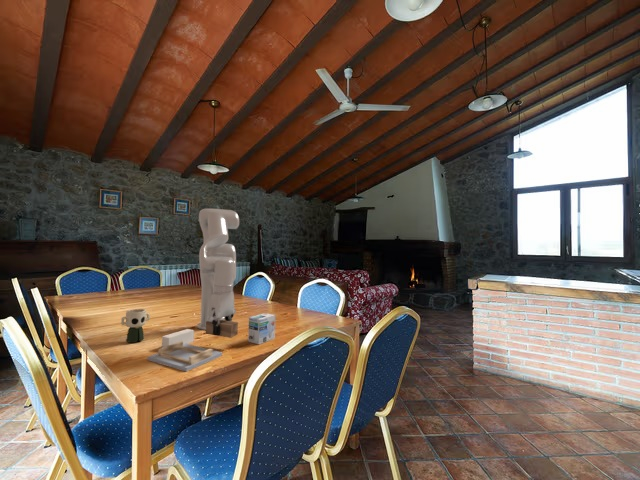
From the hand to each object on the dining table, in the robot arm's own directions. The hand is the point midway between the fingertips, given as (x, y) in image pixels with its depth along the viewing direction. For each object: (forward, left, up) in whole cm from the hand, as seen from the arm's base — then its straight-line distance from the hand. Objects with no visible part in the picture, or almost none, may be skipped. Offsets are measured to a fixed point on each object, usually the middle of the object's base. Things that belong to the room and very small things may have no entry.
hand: (221, 332), depth 120 cm
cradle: (+16, -2, -5) cm, 17 cm away
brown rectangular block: (0, 0, -1) cm, 1 cm away
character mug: (+13, -36, -6) cm, 39 cm away
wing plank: (+7, -17, -6) cm, 19 cm away
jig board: (+15, -3, -6) cm, 16 cm away
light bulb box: (-15, +9, -6) cm, 19 cm away
